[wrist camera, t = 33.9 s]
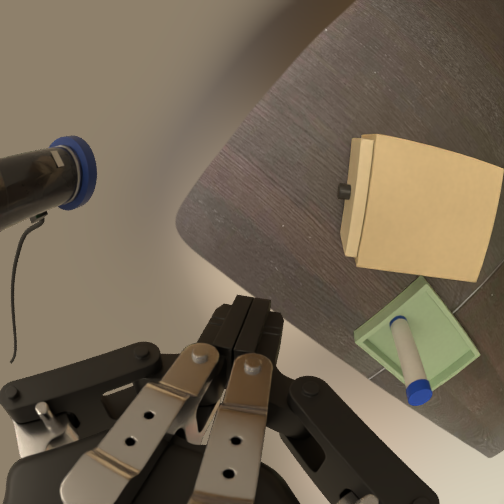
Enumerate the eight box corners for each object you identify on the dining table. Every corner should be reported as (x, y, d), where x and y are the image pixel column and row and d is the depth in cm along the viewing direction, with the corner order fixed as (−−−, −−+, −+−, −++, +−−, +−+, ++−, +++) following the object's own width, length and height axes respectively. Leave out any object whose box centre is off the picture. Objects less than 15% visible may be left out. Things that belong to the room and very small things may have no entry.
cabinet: (348, 237, 34) (356, 267, 26) (361, 134, 29) (376, 133, 21) (449, 252, 31) (476, 282, 24) (467, 159, 26) (504, 169, 19)
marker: (390, 333, 37) (408, 408, 24) (387, 318, 36) (407, 394, 23) (408, 327, 36) (432, 401, 23) (406, 312, 35) (432, 386, 23)
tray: (353, 331, 39) (354, 342, 36) (421, 274, 33) (427, 283, 31) (418, 388, 40) (421, 398, 38) (475, 345, 35) (480, 355, 33)
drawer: (329, 232, 33) (332, 254, 27) (341, 136, 29) (347, 135, 23) (439, 248, 31) (460, 272, 25) (456, 160, 26) (484, 168, 20)
